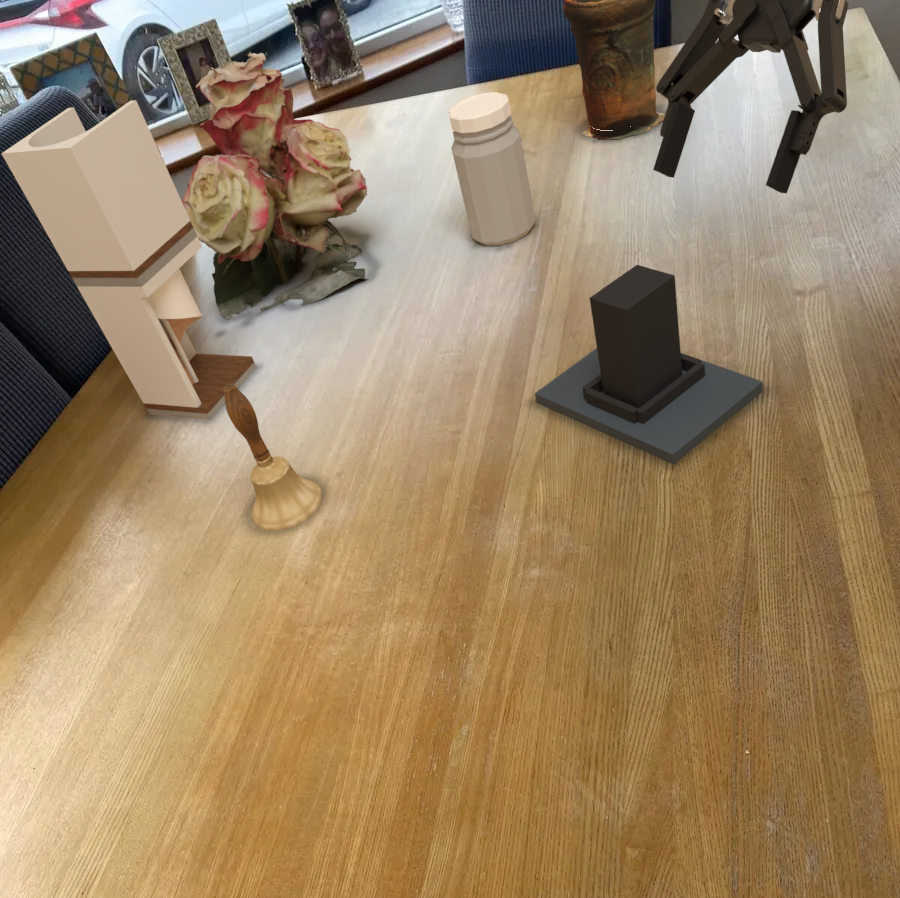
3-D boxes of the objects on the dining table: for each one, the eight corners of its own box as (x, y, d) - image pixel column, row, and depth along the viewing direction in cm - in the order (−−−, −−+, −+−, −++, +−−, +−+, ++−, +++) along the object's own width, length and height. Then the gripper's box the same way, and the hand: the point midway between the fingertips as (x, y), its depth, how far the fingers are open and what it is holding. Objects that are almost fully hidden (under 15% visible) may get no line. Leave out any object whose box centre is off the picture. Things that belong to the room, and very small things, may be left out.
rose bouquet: (215, 339, 137) (115, 128, 116) (240, 248, 157) (159, 54, 136) (385, 298, 133) (313, 71, 112) (388, 210, 153) (328, 5, 132)
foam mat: (763, 393, 99) (762, 369, 96) (673, 466, 94) (671, 442, 92) (621, 342, 111) (618, 319, 109) (536, 404, 107) (532, 382, 105)
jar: (467, 254, 136) (436, 126, 124) (477, 221, 143) (449, 97, 130) (533, 244, 133) (508, 112, 121) (540, 211, 140) (518, 83, 127)
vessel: (658, 95, 159) (647, -41, 145) (677, 125, 149) (668, -18, 135) (574, 119, 161) (555, -14, 147) (587, 150, 151) (569, 11, 137)
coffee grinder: (211, 421, 122) (70, 147, 97) (150, 415, 126) (1, 153, 102) (257, 369, 128) (135, 100, 103) (197, 366, 133) (68, 108, 108)
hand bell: (240, 530, 104) (176, 413, 93) (270, 481, 109) (213, 364, 98) (305, 532, 101) (247, 411, 90) (333, 481, 106) (282, 361, 95)
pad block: (682, 377, 101) (674, 275, 93) (638, 411, 99) (626, 310, 91) (647, 364, 104) (636, 264, 96) (603, 397, 102) (589, 297, 94)
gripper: (667, -73, 92) (600, 157, 99) (910, -93, 76) (810, 185, 82) (709, -40, 97) (643, 177, 104) (945, -52, 81) (848, 207, 87)
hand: (717, 181), depth 93 cm, fingers open, 13 cm apart
